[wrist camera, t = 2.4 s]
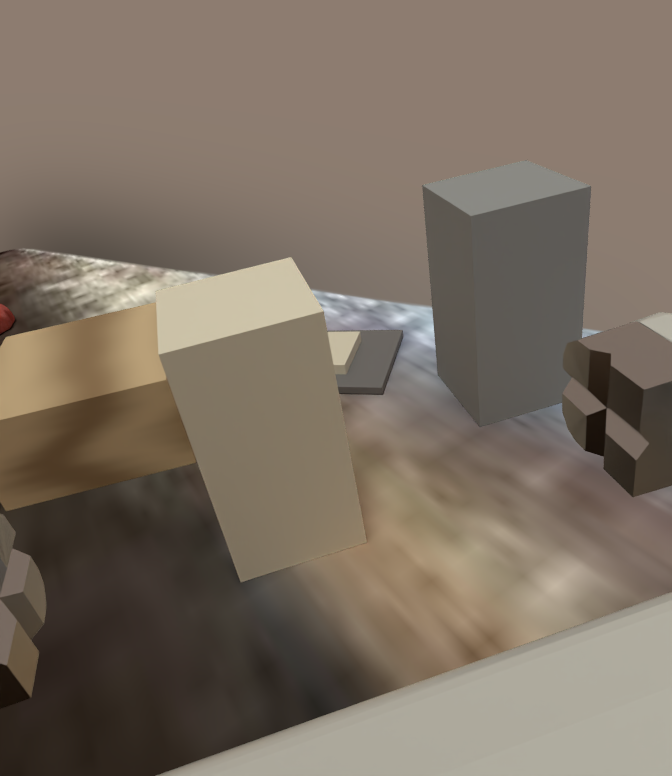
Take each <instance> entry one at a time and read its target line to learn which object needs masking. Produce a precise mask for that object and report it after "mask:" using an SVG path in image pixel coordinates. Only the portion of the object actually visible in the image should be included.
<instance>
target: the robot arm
mask: <svg viewBox="0 0 672 776" xmlns="http://www.w3.org/2000/svg"><path fill="white" fill-rule="evenodd" d="M563 369H564V370H565V371H566V372H567V373H568V374H569V375H570V376H571V377H572V378H571V380H570V382H569V383H568V385H567V386H566V388H565V390H564V391H563V393H562V411H563V415H564V418H565V421H566V424H567V427H568V430H569V431H570V433H571V434H572V436H573V438H574V439H575V441H576V442H577V443H578V444H579V445H580V446H581V447H582V448H583V449H584V450H585V451H588V452H591V453H594V454H597V455H600V456H604V470H605V471H606V472H607V473H608V474H609V475H610V476H611V477H612V478H613V479H615V480H616V481H617V482H618V483H619V484H620V485H621V486H622V487H623V488H624V489H625V490H626V491H627V492H628V493H629V494H630V495H631V496H632V497H635V496H639V495H642V494H645V493H649V492H652V491H655V490H659V489H662V488H665V487H669V486H672V314H671V313H661V312H660V313H657V314H654V315H651V316H648V317H645V318H642V319H639V320H636V321H633V322H630V323H629V324H626V325H623V326H620V327H617V328H614V329H610V330H607V331H604V332H600V333H597V334H594V335H591V336H588V337H584V338H581V339H578V340H575V341H572V342H568V343H567V345H566V347H565V350H564V353H563ZM15 534H16V532H15V531H14V529H13V528H12V526H11V525H10V523H9V522H8V521H7V519H6V518H5V516H4V515H2V514H0V709H1V708H4V707H7V706H10V705H12V704H15V703H18V702H21V701H23V700H26V699H29V698H31V695H32V689H33V684H34V678H35V672H36V667H37V661H38V655H39V651H38V650H37V649H36V647H35V646H34V644H33V643H32V641H31V639H32V638H33V637H34V635H35V634H36V633H37V632H38V631H39V629H40V628H41V627H42V626H43V624H44V619H45V612H46V597H45V588H44V583H43V580H42V578H41V575H40V572H39V570H38V568H37V566H36V564H35V563H34V561H33V559H32V558H31V556H29V555H27V554H24V553H22V552H20V551H17V550H15V549H13V548H12V546H13V542H14V538H15ZM156 776H672V592H670V593H667V594H664V595H661V596H659V597H656V598H653V599H650V600H647V601H645V602H642V603H639V604H636V605H633V606H631V607H628V608H625V609H622V610H619V611H617V612H614V613H611V614H608V615H605V616H602V617H600V618H597V619H594V620H591V621H588V622H586V623H583V624H580V625H577V626H574V627H572V628H569V629H566V630H563V631H560V632H558V633H555V634H552V635H549V636H546V637H544V638H541V639H538V640H535V641H532V642H530V643H527V644H524V645H521V646H518V647H516V648H513V649H510V650H507V651H504V652H502V653H499V654H496V655H493V656H490V657H487V658H485V659H482V660H479V661H476V662H473V663H471V664H468V665H465V666H462V667H459V668H457V669H454V670H451V671H448V672H445V673H443V674H440V675H437V676H434V677H431V678H429V679H426V680H423V681H420V682H417V683H415V684H412V685H409V686H406V687H403V688H401V689H398V690H395V691H392V692H389V693H386V694H384V695H381V696H378V697H375V698H372V699H370V700H367V701H364V702H361V703H358V704H356V705H353V706H350V707H347V708H344V709H342V710H339V711H336V712H333V713H330V714H328V715H325V716H322V717H319V718H316V719H314V720H311V721H308V722H305V723H302V724H299V725H297V726H294V727H291V728H288V729H285V730H283V731H280V732H277V733H274V734H271V735H269V736H266V737H263V738H260V739H257V740H255V741H252V742H249V743H246V744H243V745H241V746H238V747H235V748H232V749H229V750H227V751H224V752H221V753H218V754H215V755H213V756H210V757H207V758H204V759H201V760H198V761H196V762H193V763H190V764H187V765H184V766H182V767H179V768H176V769H173V770H170V771H168V772H165V773H162V774H159V775H156Z"/></svg>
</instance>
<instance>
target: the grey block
mask: <svg viewBox="0 0 672 776" xmlns="http://www.w3.org/2000/svg"><path fill="white" fill-rule="evenodd" d="M422 187H423V200H424V211H425V224H426V236H427V248H428V258H429V259H428V260H429V271H430V284H431V296H432V309H433V321H434V333H435V345H436V357H437V369H438V376H439V377H440V378H441V379H442V381H443V382H444V383H445V384H446V386H447V387H448V388H449V389H450V391H451V392H452V393H453V394H454V396H455V397H456V398H457V399H458V400H459V402H460V403H461V404H462V405H463V407H464V408H465V409H466V410H467V412H468V413H469V414H470V415H471V417H472V418H473V419H474V420H475V422H476V423H477V424H478V425H479V427H482V426H485V425H489V424H492V423H495V422H499V421H502V420H505V419H509V418H512V417H515V416H519V415H522V414H526V413H529V412H532V411H536V410H539V409H542V408H546V407H549V406H552V405H556V404H559V403H562V393H563V391H564V390H565V388H566V386H567V385H568V383H569V382H570V380H571V378H572V377H571V376H570V375H569V374H568V373H567V372H566V371H565V370H564V369H563V353H564V350H565V347H566V345H567V343H568V342H572V341H575V340H578V339H581V338H582V326H583V309H584V293H585V277H586V261H587V245H588V227H589V212H590V196H591V186H589V185H587V184H585V183H582V182H580V181H577V180H574V179H572V178H569V177H567V176H564V175H562V174H559V173H557V172H554V171H552V170H549V169H547V168H544V167H542V166H539V165H536V164H534V163H532V162H529V161H522V162H517V163H513V164H509V165H505V166H500V167H496V168H492V169H488V170H484V171H479V172H475V173H471V174H467V175H463V176H459V177H454V178H450V179H446V180H442V181H438V182H434V183H429V184H425V185H422Z"/></svg>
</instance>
